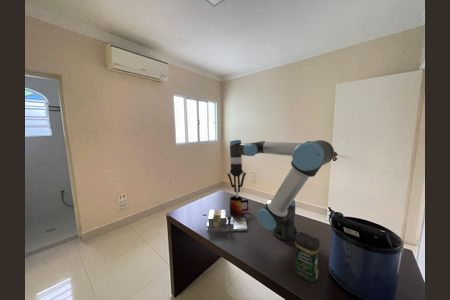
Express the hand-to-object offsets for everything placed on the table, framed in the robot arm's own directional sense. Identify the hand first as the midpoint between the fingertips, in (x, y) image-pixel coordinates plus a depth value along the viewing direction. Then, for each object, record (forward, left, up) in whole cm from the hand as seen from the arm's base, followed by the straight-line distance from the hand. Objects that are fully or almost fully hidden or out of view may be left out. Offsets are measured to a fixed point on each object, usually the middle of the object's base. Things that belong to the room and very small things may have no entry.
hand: (237, 196), depth 118 cm
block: (+14, +4, -18) cm, 23 cm away
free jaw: (+7, +4, -18) cm, 19 cm away
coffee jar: (-29, +43, -19) cm, 55 cm away
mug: (-1, -14, -19) cm, 24 cm away
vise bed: (+7, +4, -19) cm, 21 cm away
